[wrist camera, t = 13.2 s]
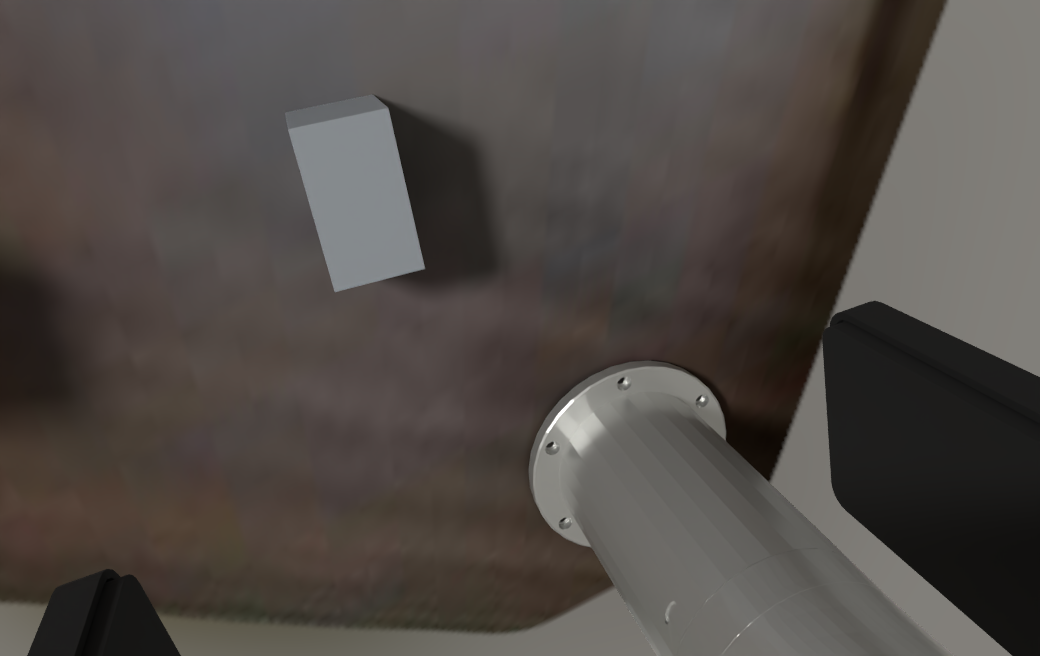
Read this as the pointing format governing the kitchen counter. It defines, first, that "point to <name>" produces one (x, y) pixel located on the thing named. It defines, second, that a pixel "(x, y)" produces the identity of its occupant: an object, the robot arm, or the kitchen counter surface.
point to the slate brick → (356, 190)
